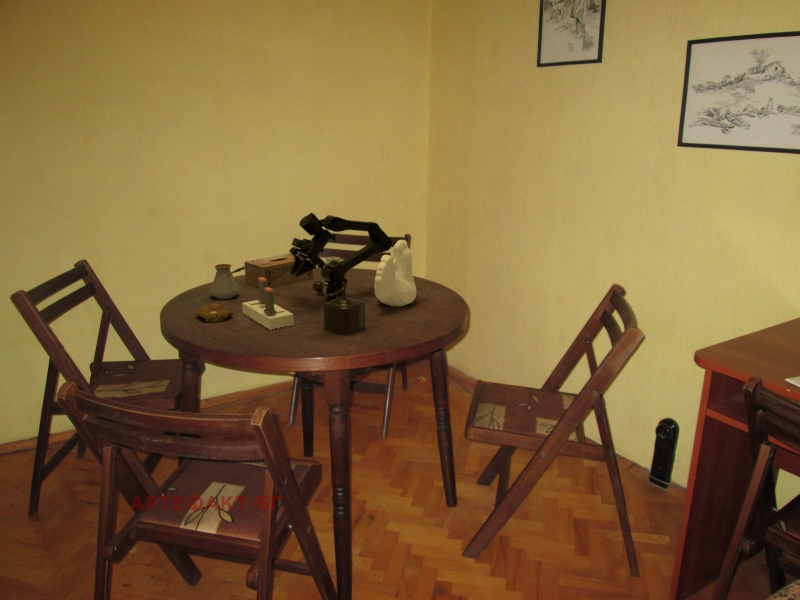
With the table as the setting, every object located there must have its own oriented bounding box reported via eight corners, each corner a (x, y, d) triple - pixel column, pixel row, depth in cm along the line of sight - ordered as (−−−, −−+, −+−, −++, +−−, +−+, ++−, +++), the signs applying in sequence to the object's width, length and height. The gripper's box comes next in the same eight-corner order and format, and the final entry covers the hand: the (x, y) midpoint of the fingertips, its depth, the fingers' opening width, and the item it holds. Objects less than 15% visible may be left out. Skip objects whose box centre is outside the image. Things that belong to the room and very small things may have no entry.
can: (339, 287, 259) (338, 260, 256) (322, 286, 261) (321, 259, 257) (344, 283, 266) (343, 256, 263) (328, 282, 268) (327, 255, 264)
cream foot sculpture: (393, 294, 250) (394, 234, 242) (425, 301, 241) (426, 239, 233) (353, 309, 231) (352, 244, 223) (385, 317, 221) (385, 250, 214)
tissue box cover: (294, 273, 283) (293, 252, 280) (313, 279, 273) (312, 257, 270) (245, 284, 265) (244, 261, 262) (264, 290, 256) (263, 267, 253)
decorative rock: (189, 316, 223) (208, 328, 213) (188, 306, 222) (207, 317, 211) (218, 308, 230) (238, 319, 220) (216, 298, 229) (236, 308, 219)
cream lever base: (265, 308, 230) (264, 297, 229) (293, 324, 213) (293, 313, 212) (242, 313, 225) (242, 302, 224) (269, 330, 208) (269, 318, 206)
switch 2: (271, 310, 213) (270, 286, 211) (276, 313, 211) (275, 289, 208) (263, 312, 212) (262, 288, 209) (268, 315, 209) (267, 290, 206)
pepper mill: (342, 321, 217) (341, 272, 212) (366, 327, 211) (365, 277, 205) (311, 333, 205) (309, 281, 200) (335, 340, 199) (334, 287, 194)
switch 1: (265, 299, 226) (263, 276, 224) (269, 301, 224) (268, 279, 221) (257, 300, 225) (256, 278, 222) (262, 303, 222) (260, 280, 219)
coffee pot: (204, 297, 245) (201, 260, 240) (228, 291, 253) (226, 256, 249) (237, 307, 232) (234, 269, 228) (261, 300, 240) (259, 263, 236)
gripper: (292, 226, 234) (267, 257, 231) (316, 233, 220) (290, 267, 217) (311, 243, 241) (287, 274, 238) (335, 252, 227) (310, 285, 224)
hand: (293, 275), depth 229 cm, fingers open, 4 cm apart
